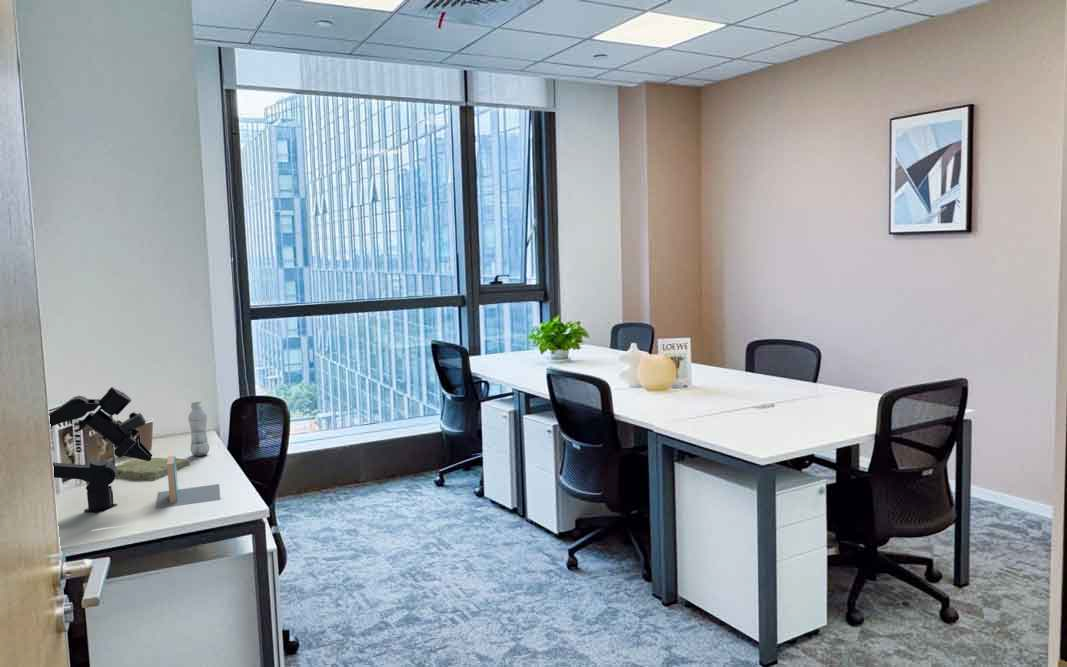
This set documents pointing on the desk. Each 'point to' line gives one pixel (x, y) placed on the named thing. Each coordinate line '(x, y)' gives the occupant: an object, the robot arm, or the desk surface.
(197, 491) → the mat
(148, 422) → the coffee cup
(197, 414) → the plastic bottle
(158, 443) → the desk surface
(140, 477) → the decorative tile
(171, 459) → the tile
